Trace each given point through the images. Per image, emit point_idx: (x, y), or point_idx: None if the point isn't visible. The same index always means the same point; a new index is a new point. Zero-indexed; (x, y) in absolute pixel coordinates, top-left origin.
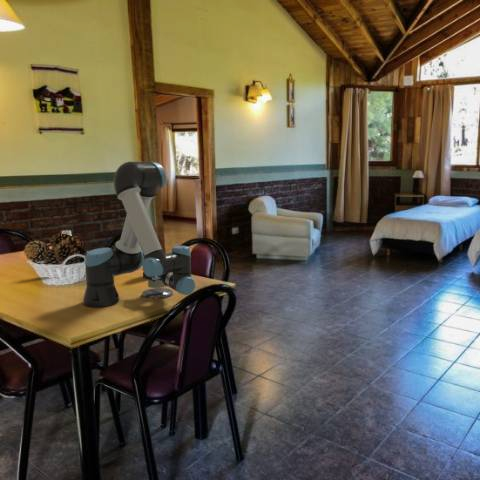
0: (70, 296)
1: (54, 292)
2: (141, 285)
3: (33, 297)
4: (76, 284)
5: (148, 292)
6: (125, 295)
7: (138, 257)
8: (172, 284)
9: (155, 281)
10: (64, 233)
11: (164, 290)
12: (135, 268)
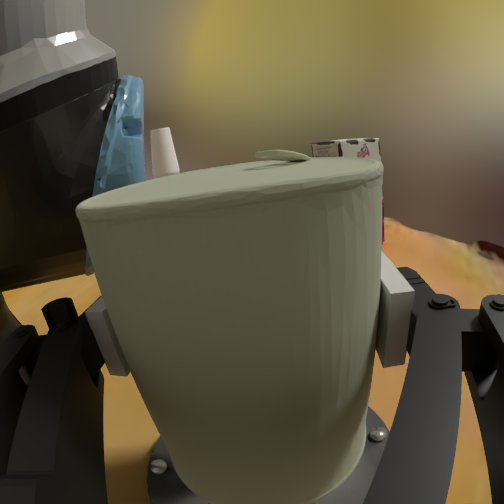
0: (29, 316)
1: (48, 285)
2: None
3: (5, 294)
4: None
5: None
6: (114, 389)
7: (48, 150)
8: None
9: (178, 456)
10: (152, 134)
11: None
12: (71, 253)
